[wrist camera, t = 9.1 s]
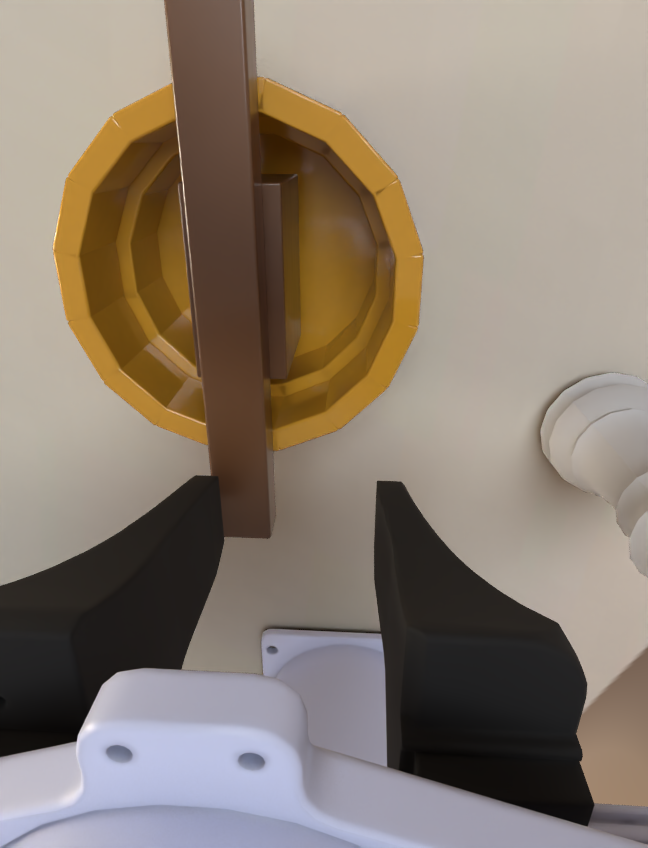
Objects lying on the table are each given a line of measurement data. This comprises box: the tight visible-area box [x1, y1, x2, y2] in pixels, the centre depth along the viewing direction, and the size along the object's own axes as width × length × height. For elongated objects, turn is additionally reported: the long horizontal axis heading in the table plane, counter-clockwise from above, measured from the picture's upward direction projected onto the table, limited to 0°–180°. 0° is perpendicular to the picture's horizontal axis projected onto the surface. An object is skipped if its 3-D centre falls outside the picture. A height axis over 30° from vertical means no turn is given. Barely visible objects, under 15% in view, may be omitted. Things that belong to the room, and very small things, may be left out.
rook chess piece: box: [540, 373, 648, 577], centre depth 18 cm, size 4×4×8 cm
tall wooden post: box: [164, 0, 301, 539], centre depth 16 cm, size 14×2×5 cm, turn 0°
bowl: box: [53, 77, 424, 451], centre depth 17 cm, size 9×9×6 cm
